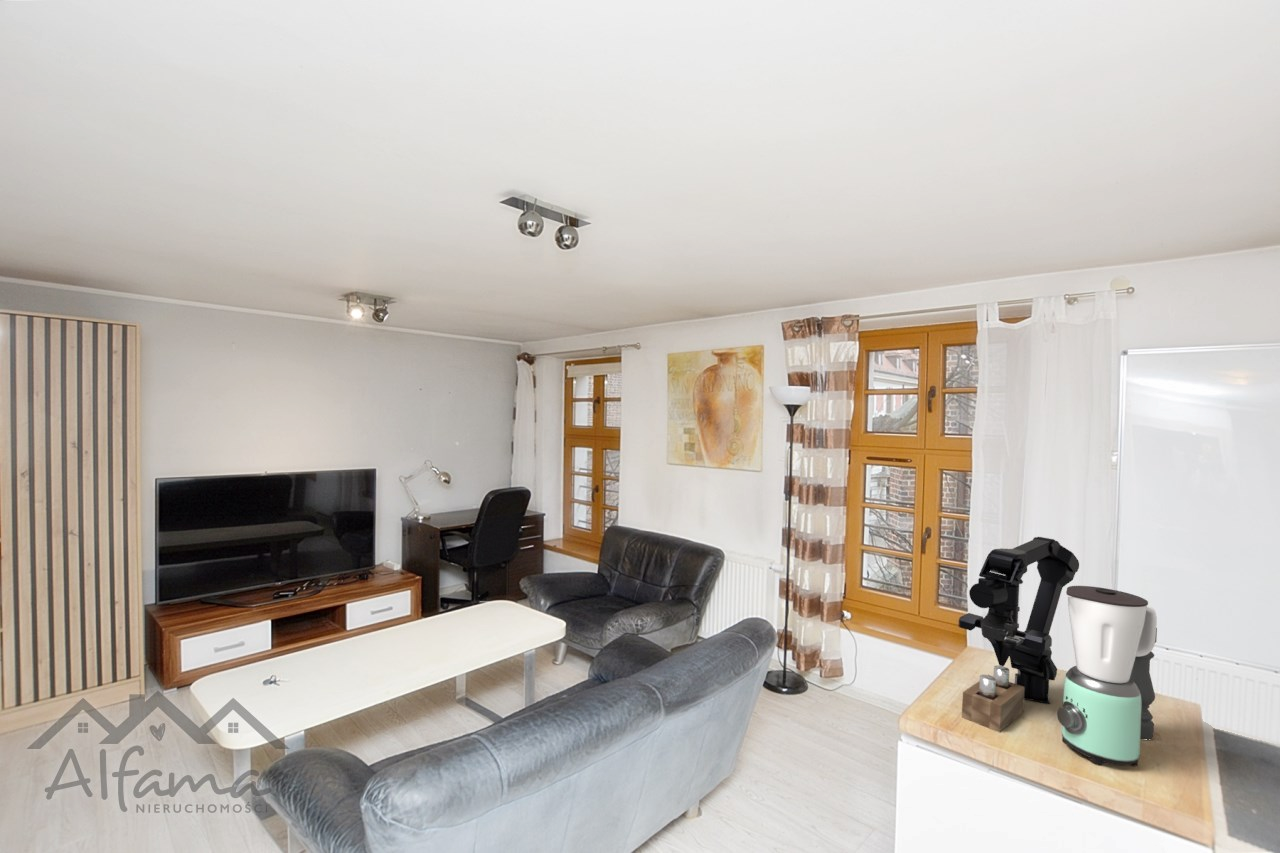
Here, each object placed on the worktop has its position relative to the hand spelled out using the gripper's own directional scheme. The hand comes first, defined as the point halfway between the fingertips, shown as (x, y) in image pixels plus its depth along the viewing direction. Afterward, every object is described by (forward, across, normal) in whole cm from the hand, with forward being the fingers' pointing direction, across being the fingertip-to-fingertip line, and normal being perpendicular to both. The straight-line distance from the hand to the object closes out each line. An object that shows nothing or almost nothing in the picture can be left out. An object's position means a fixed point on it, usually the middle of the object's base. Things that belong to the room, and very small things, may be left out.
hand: (1001, 665), depth 140 cm
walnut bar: (+11, 0, -5) cm, 12 cm away
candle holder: (+11, +23, +14) cm, 29 cm away
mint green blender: (+11, +21, -3) cm, 24 cm away
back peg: (+7, 0, 0) cm, 7 cm away
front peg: (+7, 0, -9) cm, 11 cm away
